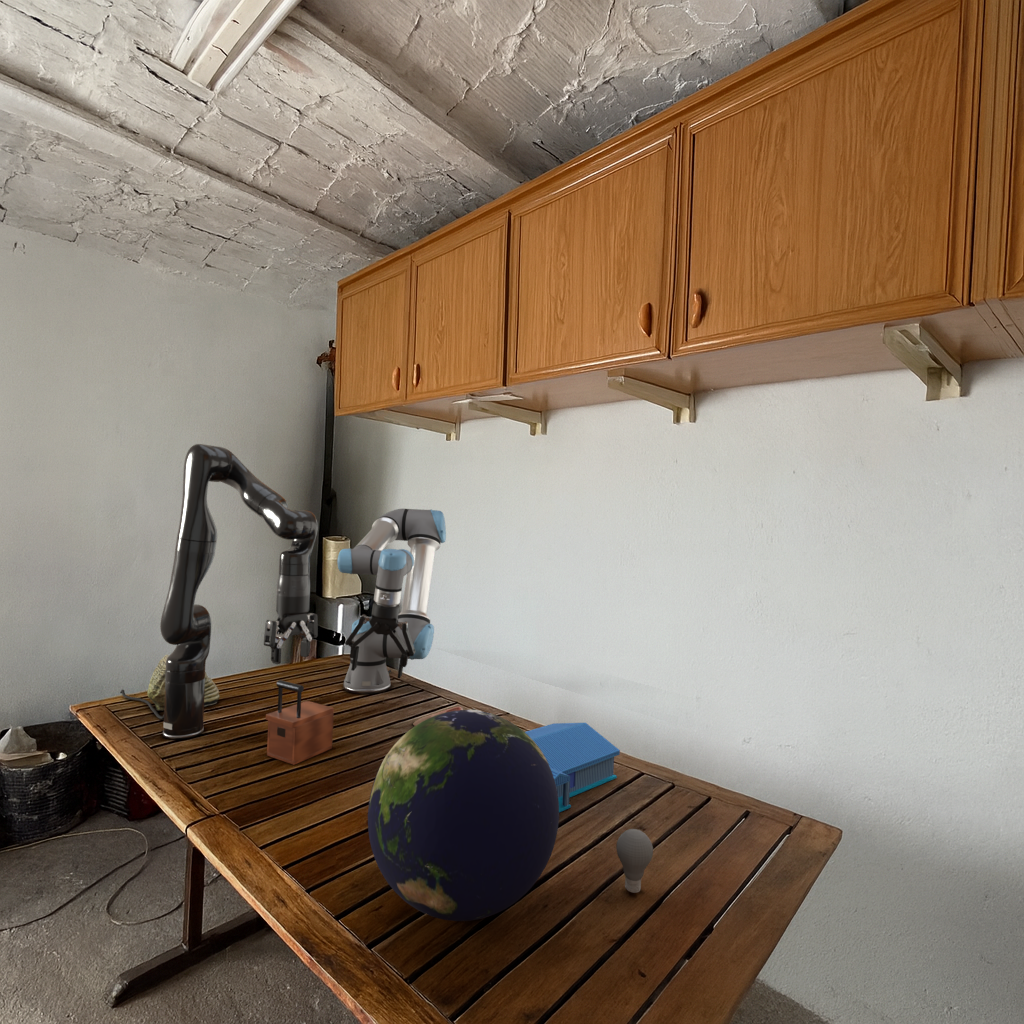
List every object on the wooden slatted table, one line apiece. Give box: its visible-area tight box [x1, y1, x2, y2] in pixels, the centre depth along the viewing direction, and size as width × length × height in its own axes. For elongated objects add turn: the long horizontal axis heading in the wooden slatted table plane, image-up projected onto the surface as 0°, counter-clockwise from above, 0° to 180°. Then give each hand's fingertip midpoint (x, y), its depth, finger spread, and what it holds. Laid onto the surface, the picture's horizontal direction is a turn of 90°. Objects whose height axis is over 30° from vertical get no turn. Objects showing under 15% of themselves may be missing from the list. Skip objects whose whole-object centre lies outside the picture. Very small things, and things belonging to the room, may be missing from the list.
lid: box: [265, 679, 335, 728], centre depth 156 cm, size 13×9×9 cm
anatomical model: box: [412, 706, 464, 727], centre depth 179 cm, size 13×4×12 cm
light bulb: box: [615, 828, 654, 894], centre depth 106 cm, size 6×6×10 cm
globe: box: [367, 709, 560, 922], centre depth 100 cm, size 30×30×30 cm
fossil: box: [147, 654, 221, 712], centre depth 185 cm, size 9×18×15 cm, turn 132°
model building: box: [524, 722, 621, 813], centre depth 143 cm, size 39×24×10 cm, turn 132°
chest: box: [266, 713, 335, 766], centre depth 156 cm, size 12×9×9 cm
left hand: (290, 659), depth 152 cm, fingers open, 8 cm apart
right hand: (376, 672), depth 185 cm, fingers open, 13 cm apart
